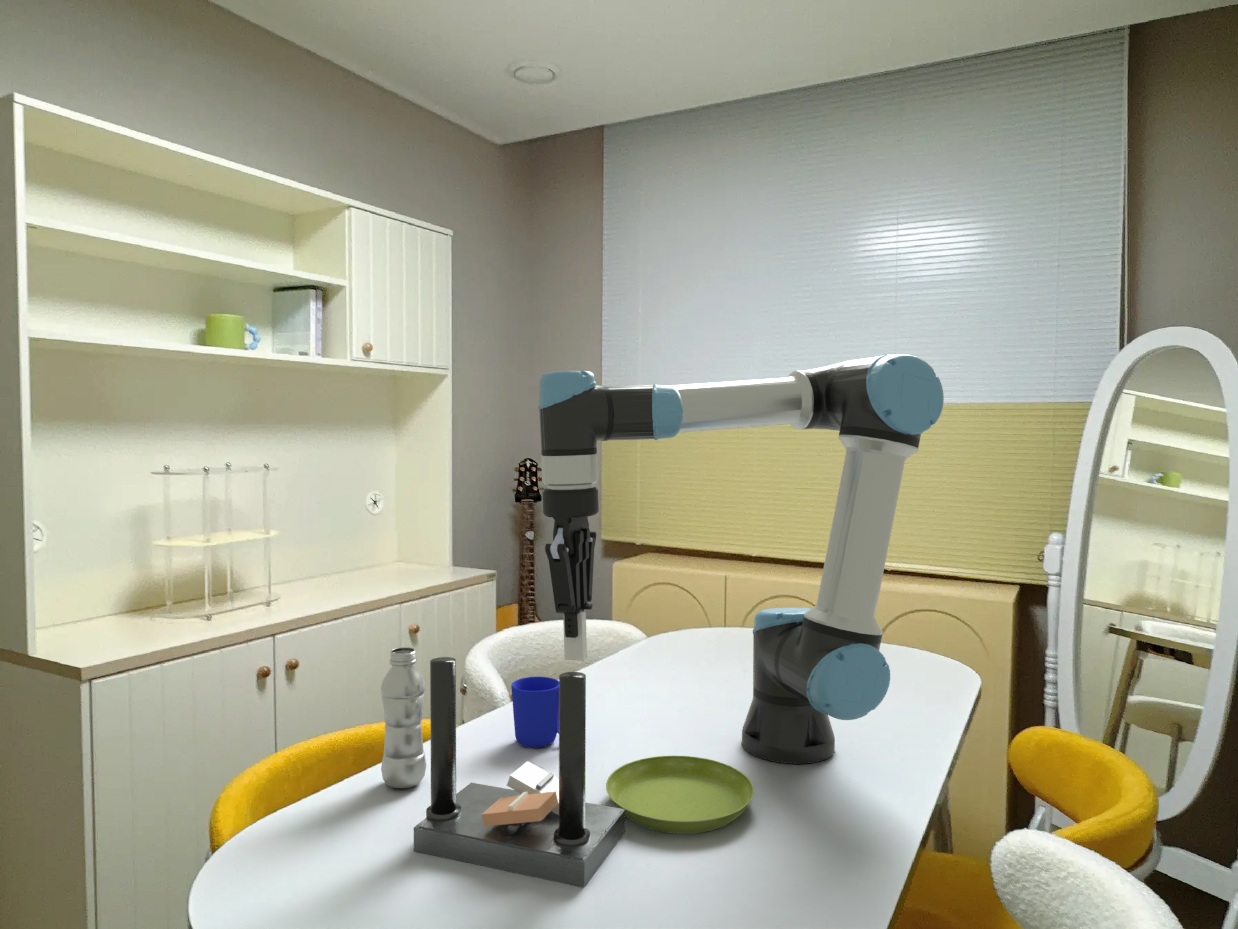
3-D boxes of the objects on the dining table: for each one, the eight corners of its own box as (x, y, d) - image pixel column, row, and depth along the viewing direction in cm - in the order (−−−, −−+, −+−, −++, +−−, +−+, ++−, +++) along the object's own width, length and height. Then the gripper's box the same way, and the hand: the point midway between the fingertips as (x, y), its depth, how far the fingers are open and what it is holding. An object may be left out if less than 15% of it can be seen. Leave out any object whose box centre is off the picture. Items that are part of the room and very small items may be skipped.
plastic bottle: (386, 797, 118) (385, 659, 117) (377, 779, 124) (376, 647, 123) (431, 789, 121) (430, 653, 120) (420, 771, 127) (419, 642, 126)
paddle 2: (558, 803, 104) (554, 787, 104) (541, 821, 99) (537, 804, 99) (503, 809, 106) (499, 793, 107) (484, 826, 102) (480, 810, 102)
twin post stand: (625, 831, 108) (626, 658, 107) (584, 887, 95) (585, 690, 94) (466, 802, 116) (466, 641, 115) (408, 850, 103) (407, 668, 102)
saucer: (609, 774, 127) (609, 754, 127) (744, 777, 126) (744, 756, 126) (602, 842, 106) (602, 817, 106) (763, 845, 106) (764, 821, 105)
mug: (575, 756, 133) (575, 694, 133) (504, 749, 136) (504, 689, 135) (587, 737, 141) (588, 679, 141) (520, 731, 144) (520, 675, 143)
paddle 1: (574, 799, 110) (579, 786, 110) (559, 815, 105) (564, 802, 105) (523, 770, 113) (528, 757, 112) (506, 785, 108) (511, 772, 108)
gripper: (563, 482, 119) (568, 644, 120) (524, 490, 107) (530, 671, 108) (612, 482, 116) (617, 647, 118) (578, 490, 104) (584, 675, 105)
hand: (575, 658), depth 113 cm, fingers closed
